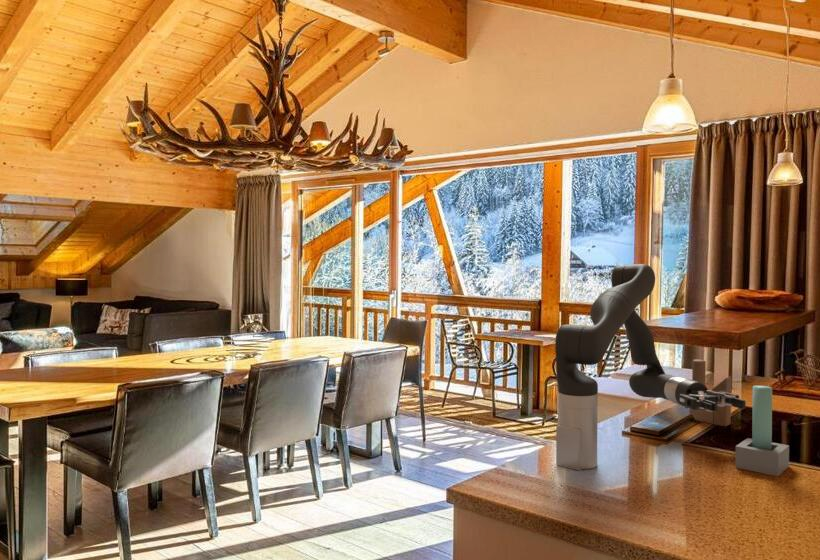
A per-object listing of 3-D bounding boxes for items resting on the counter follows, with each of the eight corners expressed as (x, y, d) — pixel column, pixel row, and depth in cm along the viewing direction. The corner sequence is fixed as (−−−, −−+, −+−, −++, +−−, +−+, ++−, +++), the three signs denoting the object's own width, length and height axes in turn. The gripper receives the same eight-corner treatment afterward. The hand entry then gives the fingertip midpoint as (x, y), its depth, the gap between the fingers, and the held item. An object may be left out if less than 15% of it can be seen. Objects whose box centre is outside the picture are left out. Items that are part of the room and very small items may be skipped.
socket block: (778, 476, 146) (778, 454, 146) (735, 467, 152) (735, 446, 152) (788, 466, 153) (789, 445, 152) (747, 458, 159) (747, 438, 159)
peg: (768, 467, 150) (769, 389, 149) (749, 463, 152) (750, 387, 152) (773, 463, 153) (774, 387, 152) (754, 459, 155) (755, 384, 155)
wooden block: (725, 426, 187) (726, 364, 186) (688, 419, 195) (689, 360, 194) (731, 424, 189) (732, 363, 189) (694, 417, 197) (695, 358, 197)
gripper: (663, 380, 175) (706, 393, 159) (707, 377, 179) (754, 389, 163) (663, 408, 175) (706, 423, 160) (707, 404, 179) (753, 418, 164)
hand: (730, 406), depth 162 cm, fingers open, 8 cm apart
